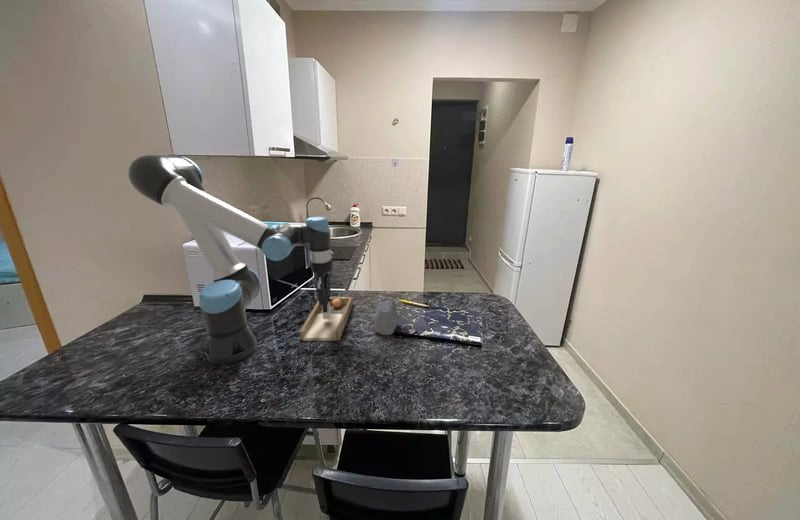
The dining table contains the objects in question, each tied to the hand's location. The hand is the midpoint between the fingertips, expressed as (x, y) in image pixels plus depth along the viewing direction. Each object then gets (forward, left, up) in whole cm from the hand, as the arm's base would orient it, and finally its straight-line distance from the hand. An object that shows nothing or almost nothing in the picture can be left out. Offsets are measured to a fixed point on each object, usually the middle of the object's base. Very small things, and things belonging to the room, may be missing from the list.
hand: (326, 318), depth 117 cm
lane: (0, +3, -3) cm, 4 cm away
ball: (+1, +14, -1) cm, 14 cm away
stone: (+23, -4, -3) cm, 23 cm away
